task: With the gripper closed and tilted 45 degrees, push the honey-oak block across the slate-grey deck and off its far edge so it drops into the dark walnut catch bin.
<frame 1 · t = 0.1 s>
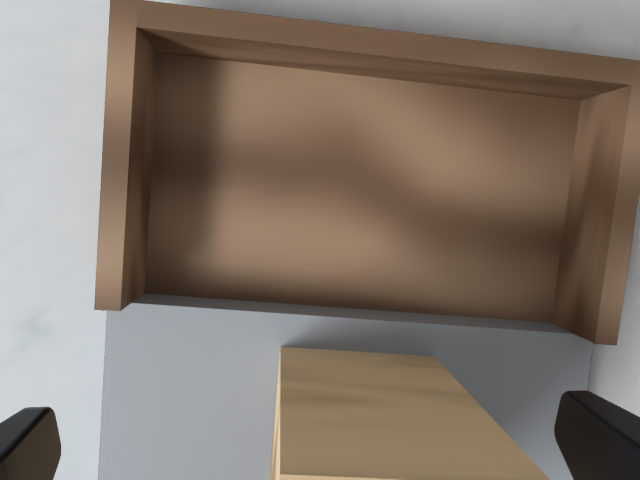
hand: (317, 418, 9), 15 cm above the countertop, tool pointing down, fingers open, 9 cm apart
deck: (342, 422, 25), on the countertop
catch bin: (365, 185, 24), on the countertop
block: (351, 426, 22), point 2 cm above the countertop, touching deck
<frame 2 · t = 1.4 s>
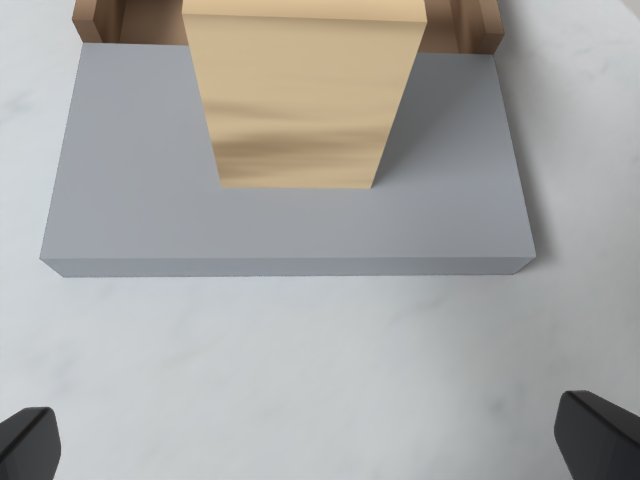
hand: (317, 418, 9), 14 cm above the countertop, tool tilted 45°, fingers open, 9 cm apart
deck: (294, 169, 27), on the countertop
catch bin: (292, 4, 31), on the countertop
block: (296, 126, 25), point 2 cm above the countertop, touching deck
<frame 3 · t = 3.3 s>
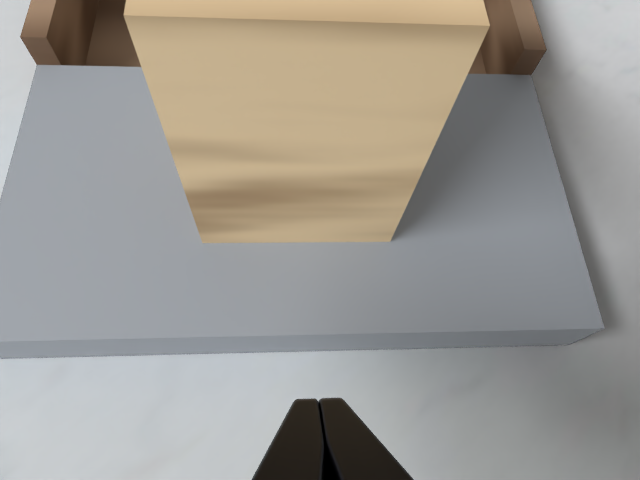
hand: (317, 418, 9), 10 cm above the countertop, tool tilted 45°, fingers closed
deck: (294, 215, 22), on the countertop
catch bin: (290, 20, 27), on the countertop
block: (295, 163, 20), point 2 cm above the countertop, touching deck
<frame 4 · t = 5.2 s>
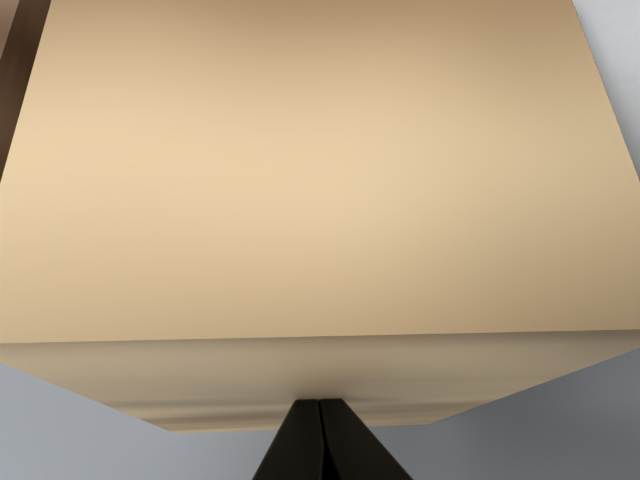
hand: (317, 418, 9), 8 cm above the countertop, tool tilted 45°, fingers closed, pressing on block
deck: (300, 405, 16), on the countertop
catch bin: (294, 117, 21), on the countertop
block: (301, 307, 15), point 3 cm above the countertop, touching deck, gripper
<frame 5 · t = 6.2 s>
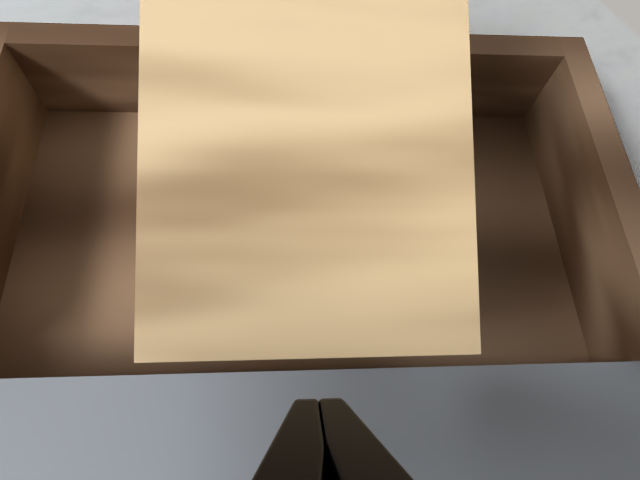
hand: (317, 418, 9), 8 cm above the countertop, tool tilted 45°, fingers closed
catch bin: (296, 225, 19), on the countertop
block: (304, 337, 13), point 4 cm above the countertop, tilted 69°, touching catch bin
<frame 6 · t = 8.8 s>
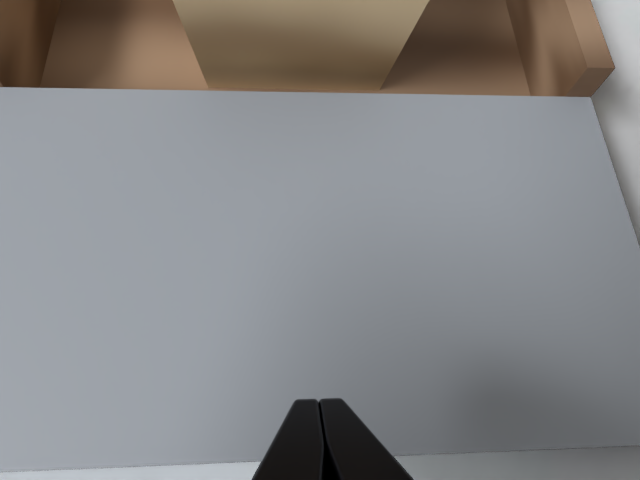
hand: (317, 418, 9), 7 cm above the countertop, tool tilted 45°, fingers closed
deck: (298, 274, 17), on the countertop
catch bin: (292, 24, 22), on the countertop
block: (297, 51, 17), point 4 cm above the countertop, tilted 69°, touching catch bin
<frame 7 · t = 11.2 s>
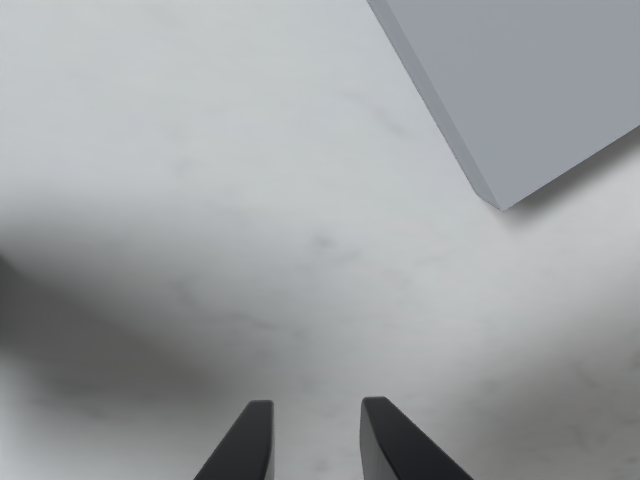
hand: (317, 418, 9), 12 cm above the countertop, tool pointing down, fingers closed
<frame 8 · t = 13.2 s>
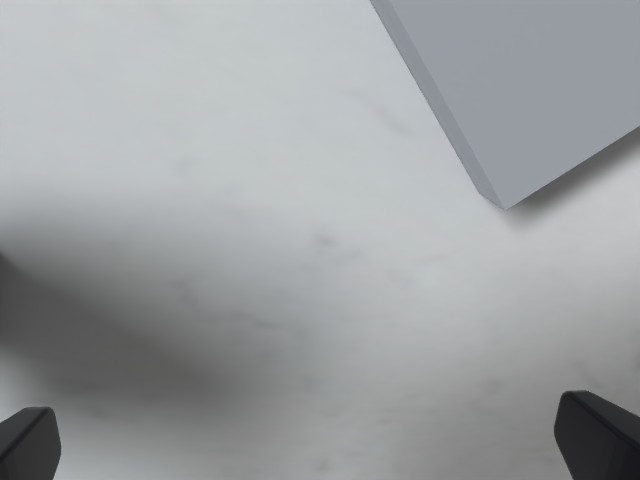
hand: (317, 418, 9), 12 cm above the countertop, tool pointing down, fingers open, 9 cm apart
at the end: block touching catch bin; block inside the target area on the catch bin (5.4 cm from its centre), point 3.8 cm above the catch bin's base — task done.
